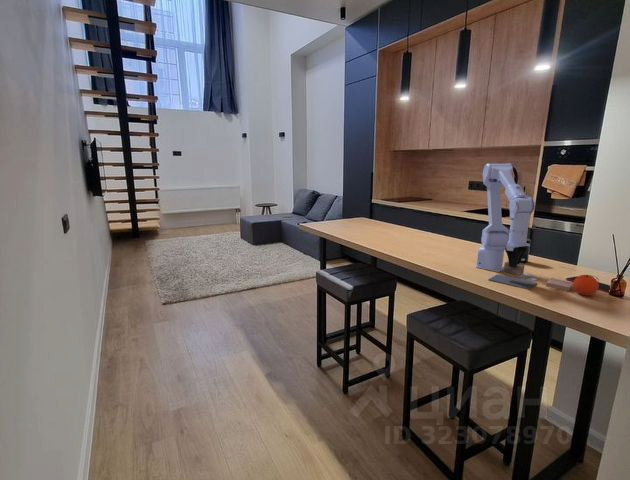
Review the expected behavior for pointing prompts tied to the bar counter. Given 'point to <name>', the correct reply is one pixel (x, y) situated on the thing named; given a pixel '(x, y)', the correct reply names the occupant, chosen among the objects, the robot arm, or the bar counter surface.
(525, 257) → the supplement container
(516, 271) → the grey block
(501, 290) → the bar counter surface
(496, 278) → the mat
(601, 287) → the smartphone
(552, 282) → the tile
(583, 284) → the clementine
